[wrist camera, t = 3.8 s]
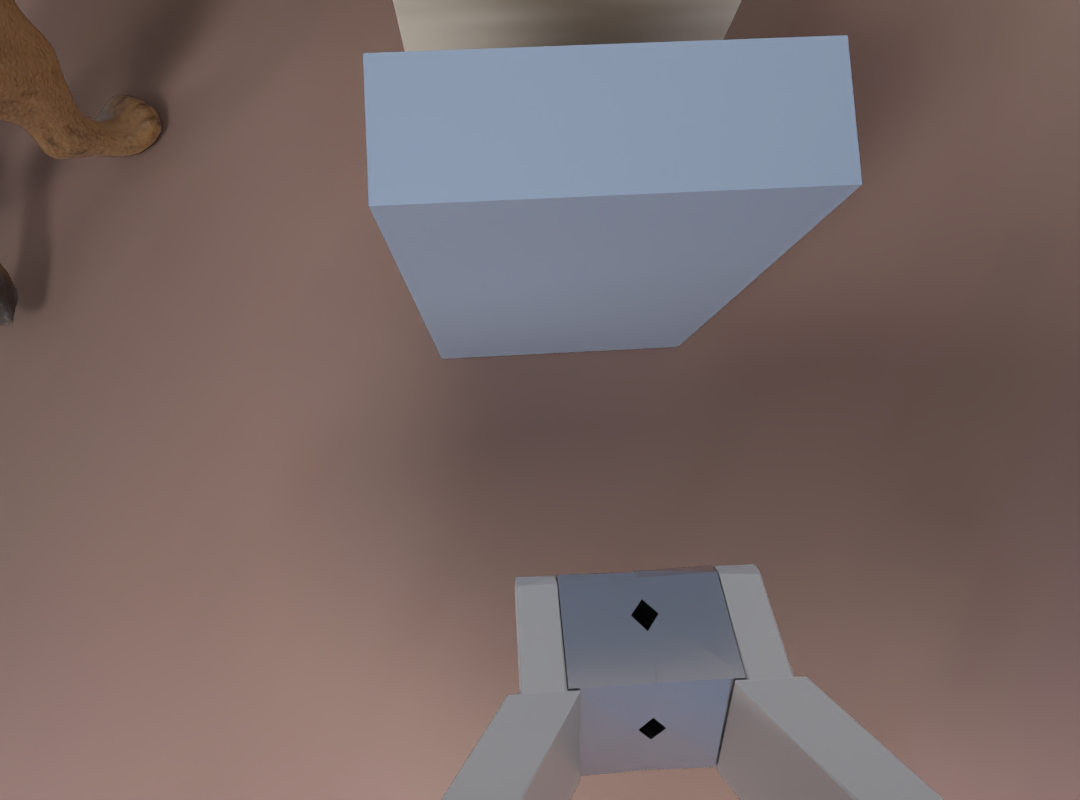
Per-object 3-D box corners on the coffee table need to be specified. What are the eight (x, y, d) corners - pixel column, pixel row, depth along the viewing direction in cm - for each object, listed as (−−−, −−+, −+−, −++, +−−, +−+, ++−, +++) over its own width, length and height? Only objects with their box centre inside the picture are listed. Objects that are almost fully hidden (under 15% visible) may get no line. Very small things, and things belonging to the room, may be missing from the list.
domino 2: (441, 359, 19) (368, 206, 9) (438, 284, 19) (362, 53, 9) (678, 346, 19) (862, 183, 9) (672, 273, 19) (847, 35, 9)
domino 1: (433, 174, 19) (353, -166, 9) (429, 103, 20) (348, -307, 10) (664, 164, 20) (826, -180, 10) (659, 93, 20) (812, -316, 10)
